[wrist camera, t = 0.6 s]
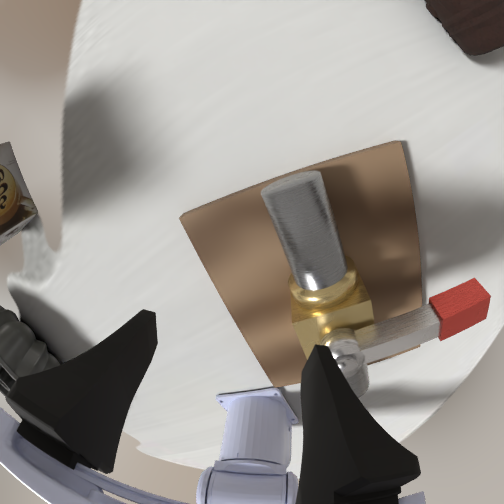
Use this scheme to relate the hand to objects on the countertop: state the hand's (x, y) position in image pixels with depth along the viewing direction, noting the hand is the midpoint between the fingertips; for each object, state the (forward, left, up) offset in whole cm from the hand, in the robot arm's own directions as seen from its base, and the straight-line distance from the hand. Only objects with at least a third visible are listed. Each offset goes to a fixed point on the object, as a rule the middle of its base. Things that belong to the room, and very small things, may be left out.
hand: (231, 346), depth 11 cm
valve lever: (-6, -9, -4) cm, 11 cm away
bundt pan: (-5, +45, -10) cm, 46 cm away
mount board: (-6, -4, -10) cm, 12 cm away
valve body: (-6, -4, -10) cm, 12 cm away
